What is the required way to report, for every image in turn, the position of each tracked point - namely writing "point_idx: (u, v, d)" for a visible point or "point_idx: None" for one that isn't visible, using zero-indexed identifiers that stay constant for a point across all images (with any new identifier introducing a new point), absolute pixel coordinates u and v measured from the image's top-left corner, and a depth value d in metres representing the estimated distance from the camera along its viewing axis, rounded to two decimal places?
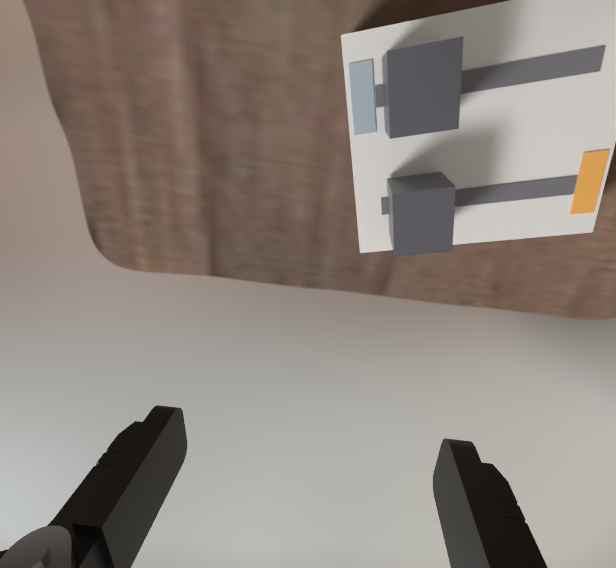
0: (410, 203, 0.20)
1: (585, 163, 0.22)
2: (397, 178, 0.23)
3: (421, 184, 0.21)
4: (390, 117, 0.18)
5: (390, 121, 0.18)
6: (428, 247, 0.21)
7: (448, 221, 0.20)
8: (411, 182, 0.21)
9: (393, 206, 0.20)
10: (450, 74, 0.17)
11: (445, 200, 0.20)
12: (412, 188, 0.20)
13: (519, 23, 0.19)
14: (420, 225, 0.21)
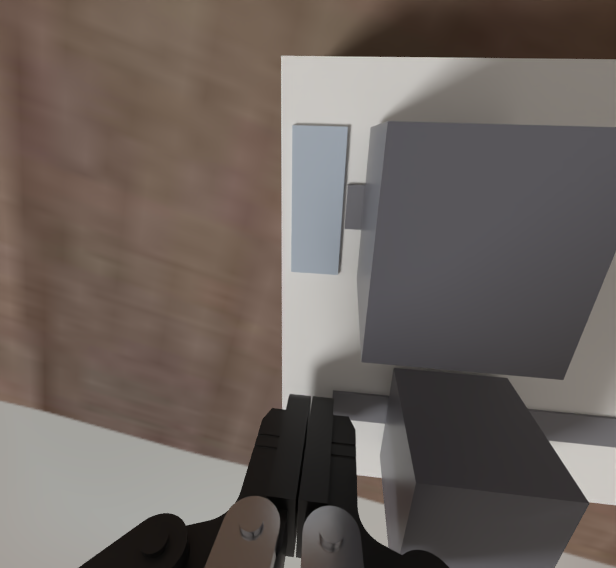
0: (460, 510, 0.08)
1: None
2: (417, 377, 0.11)
3: (483, 442, 0.08)
4: (370, 312, 0.06)
5: (368, 322, 0.06)
6: None
7: (543, 560, 0.08)
8: (454, 416, 0.09)
9: (413, 505, 0.08)
10: (582, 237, 0.05)
11: (552, 522, 0.07)
12: (466, 466, 0.08)
13: None
14: (471, 551, 0.08)
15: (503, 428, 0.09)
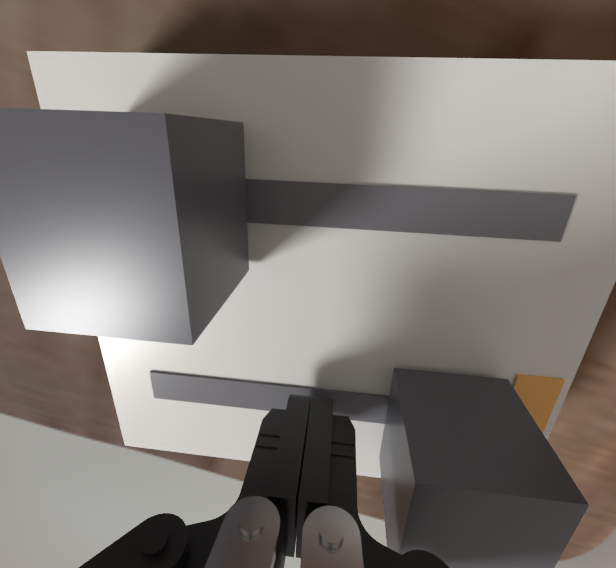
0: (458, 510, 0.08)
1: (520, 391, 0.11)
2: (417, 378, 0.11)
3: (483, 443, 0.08)
4: (11, 282, 0.06)
5: (14, 291, 0.07)
6: None
7: (542, 561, 0.08)
8: (454, 417, 0.09)
9: (412, 505, 0.08)
10: (146, 212, 0.06)
11: (551, 524, 0.07)
12: (466, 467, 0.08)
13: (404, 112, 0.08)
14: (470, 552, 0.08)
15: (503, 429, 0.09)
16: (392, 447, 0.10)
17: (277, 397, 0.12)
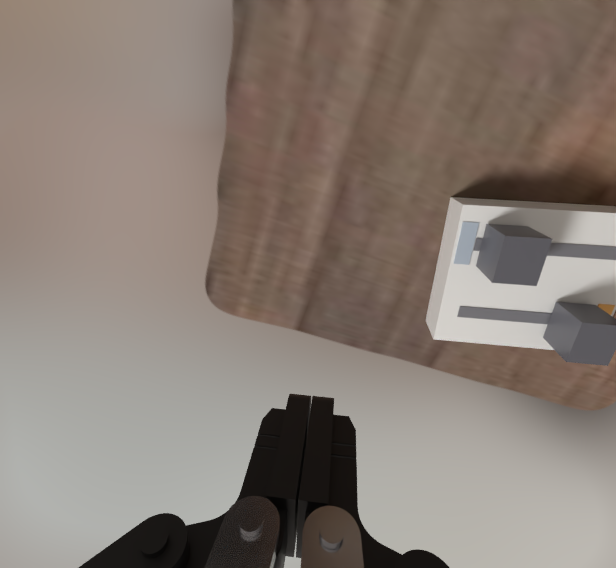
0: (592, 330, 0.29)
1: None
2: (566, 304, 0.32)
3: (595, 317, 0.30)
4: (496, 271, 0.28)
5: (495, 273, 0.28)
6: (592, 360, 0.30)
7: (613, 346, 0.29)
8: (583, 312, 0.31)
9: (579, 330, 0.29)
10: (539, 256, 0.27)
11: None
12: (593, 320, 0.29)
13: (575, 224, 0.30)
14: (593, 345, 0.30)
15: (599, 314, 0.30)
16: (559, 325, 0.32)
17: (507, 315, 0.34)
